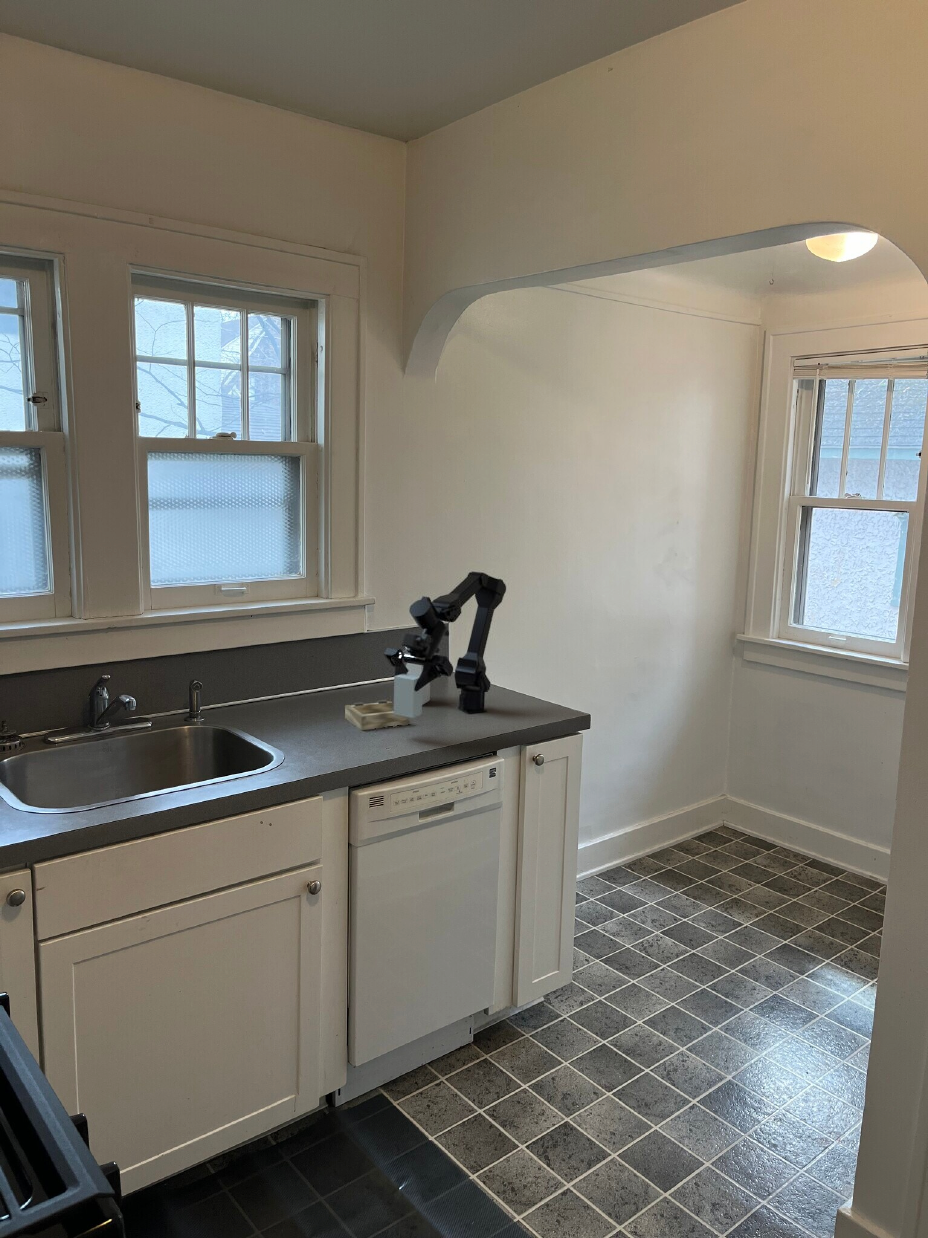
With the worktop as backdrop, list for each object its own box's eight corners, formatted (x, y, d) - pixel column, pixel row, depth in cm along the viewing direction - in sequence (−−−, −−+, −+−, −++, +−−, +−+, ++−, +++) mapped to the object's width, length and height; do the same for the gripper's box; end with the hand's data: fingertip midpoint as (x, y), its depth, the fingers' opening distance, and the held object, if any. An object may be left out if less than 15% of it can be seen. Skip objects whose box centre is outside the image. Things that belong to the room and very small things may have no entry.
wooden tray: (391, 713, 263) (391, 698, 262) (409, 724, 252) (409, 709, 252) (345, 718, 256) (345, 703, 255) (361, 730, 246) (361, 714, 245)
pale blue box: (402, 710, 243) (403, 673, 241) (421, 714, 240) (422, 676, 238) (393, 714, 239) (394, 676, 238) (412, 718, 236) (413, 679, 235)
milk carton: (429, 700, 277) (431, 638, 274) (420, 706, 271) (422, 642, 267) (407, 698, 280) (409, 636, 276) (398, 703, 273) (399, 640, 270)
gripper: (388, 617, 243) (362, 665, 236) (448, 625, 234) (423, 676, 227) (405, 641, 251) (380, 689, 244) (464, 651, 242) (440, 701, 235)
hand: (405, 688), depth 237 cm, fingers closed on pale blue box, 6 cm apart
